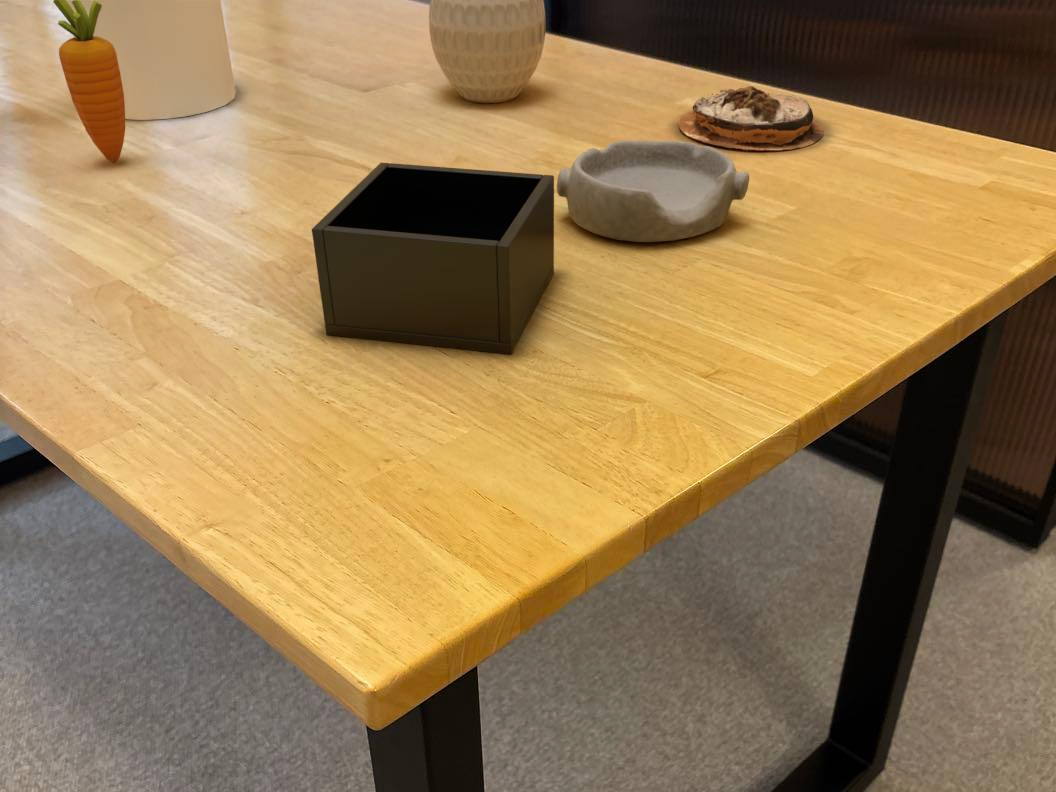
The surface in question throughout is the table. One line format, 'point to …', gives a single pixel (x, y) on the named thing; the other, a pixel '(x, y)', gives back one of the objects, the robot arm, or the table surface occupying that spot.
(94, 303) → the table surface
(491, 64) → the vase
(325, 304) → the black open box
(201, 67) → the canister
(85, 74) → the carrot
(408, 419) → the table surface
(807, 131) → the cake
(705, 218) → the dish
